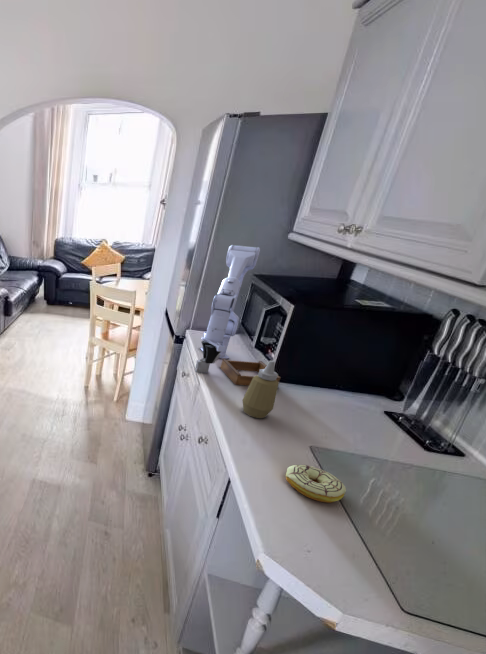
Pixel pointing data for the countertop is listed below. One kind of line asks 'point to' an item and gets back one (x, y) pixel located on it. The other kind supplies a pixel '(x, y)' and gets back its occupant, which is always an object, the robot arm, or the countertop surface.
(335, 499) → the decorated donut
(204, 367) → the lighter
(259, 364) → the wooden tray
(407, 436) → the countertop surface
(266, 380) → the squeeze bottle
